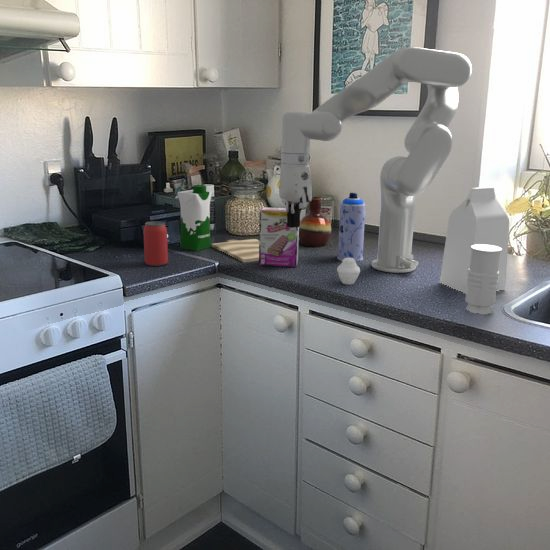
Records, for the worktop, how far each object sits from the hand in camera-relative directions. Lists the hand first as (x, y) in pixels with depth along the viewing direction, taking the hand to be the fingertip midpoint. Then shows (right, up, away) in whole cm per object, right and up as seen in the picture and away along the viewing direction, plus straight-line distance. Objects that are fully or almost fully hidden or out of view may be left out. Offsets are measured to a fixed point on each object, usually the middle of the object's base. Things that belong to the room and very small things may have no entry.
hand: (293, 226), depth 171 cm
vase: (+8, -3, +36) cm, 37 cm away
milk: (+47, -17, -8) cm, 50 cm away
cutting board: (-14, -6, +25) cm, 29 cm away
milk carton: (-31, -5, +28) cm, 42 cm away
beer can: (-39, -10, +8) cm, 42 cm away
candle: (+43, -22, -26) cm, 54 cm away
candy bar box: (-4, -11, +10) cm, 15 cm away
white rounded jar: (+14, -16, -7) cm, 22 cm away
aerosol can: (+18, -9, +18) cm, 27 cm away
